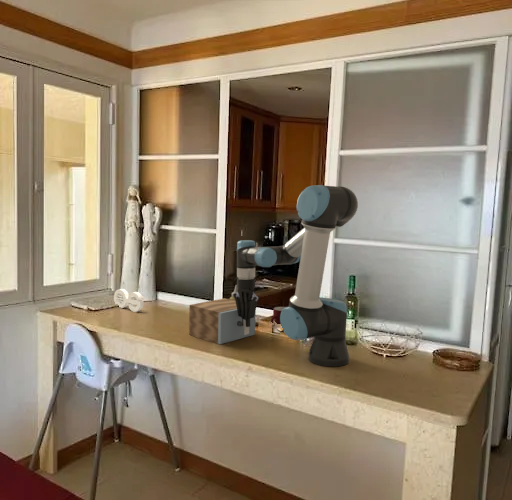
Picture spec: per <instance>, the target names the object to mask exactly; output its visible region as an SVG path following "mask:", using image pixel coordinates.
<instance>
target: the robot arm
mask: <svg viewBox="0 0 512 500" xmlns="http://www.w3.org/2000/svg"><path fill="white" fill-rule="evenodd" d="M296 202H297V203H296V211H297V215H298V217H299V218H300V219H301V225H302V227H303V228H302V229H301V230H299V231H298V232H297V233H296V234H295V235H294V236H293V237H291V238H290V239H289V240H287V242H285V243H284V244H283V245H279V246H276V245H275V246H256V241H255V240H250V239H248V240H247V239H245V240H243V239H241V240H238V241H237V242H236V244H237V245H236V247H237V248H236V279H237V280H236V285H237V287H238V292H237V293H234V294H233V296H234V298H235V301H236V306H237V311H238V316H239V317H241V318H242V326H243V335H247V334H249V327H250V319H251V318H254V315H255V311H256V309H257V307H258V301H259V300H260V296H259V295H258V296H257V294H256V291H255V288H256V279H255V277H256V266H258V267H261V268H271V267H272V266H279V265H280V266H283V265H293V264H296V263H299V264H298V265H299V266H298V267H299V268H298V273H297V279H296V284H295V293H294V295H292V296H291V297H290V298H289V303H288V306H285V307H286V308H284V310H282V312H281V315H280V322H281V326H282V328H283V331H282V332H284V334H285V336H287V337H288V338H289V339H291V340H294V341H298V340H302V341H303V340H305V339H309V338H313V339H312V340H313V341H311V342H312V343H311V344H310V345H311V346H310V348H309V351H308V353H307V354H308V357H307V358H308V361H309V362H311V363H313V364H314V365H319V366H323V367H331V368H332V367H342V366H346V365H348V364H349V363H350V354H349V349H348V347H347V343H346V342H347V341H346V334H347V333H346V332H347V316H348V308H347V304H346V302H345V301H343V300H341V299H340V300H339V299H335V298H329V297H320V296H321V290H322V285H323V284H322V283H323V279H324V272H325V268H326V260H327V255H328V250H329V249H328V248H329V242H330V238H331V233H332V232H333V231H334V230H336V228H337V227H338V228H342V227H344V225H346V224H347V223H348V222H349V221H350V220H352V218H353V217H354V216H355V215H356V214H357V211H358V207H359V203H358V198H357V196H356V194H355V193H354V192H353V190H351V189H349V188H348V187H345V186H333V185H322V184H317V185H310V186H307V187H305V188H304V189H303V190H302V191H301V192H300V194H299V196H298V198H297V200H296ZM255 316H256V315H255Z"/></svg>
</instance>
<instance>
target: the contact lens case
mask: <svg viewBox="0 0 512 500" xmlns="http://www.w3.org/2000/svg"><path fill="white" fill-rule="evenodd" d="M113 301H114V303H115V305H116V304H118V305H119V307H121V308H120V309H124V308H127V307H128V308H129V310H130V311H131V312H134V313H137V312H140V311H142V309H143V308H144V304H145V303H144V302H145V301H144V297H143V295H142V294H141V293H140V292H138V291H134V292H133V291H132V292H130V293H129V291H127V290H126V289H125V288H119V289H116V290H115V291H114V293H113Z"/></svg>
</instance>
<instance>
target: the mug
mask: <svg viewBox="0 0 512 500" xmlns="http://www.w3.org/2000/svg"><path fill="white" fill-rule="evenodd" d="M286 307H287V306H275V307H274V308H273V311H272V313H273V315H272V317H271V319H270V323H271V322H272V323H274V321H275V322H276V323H277V324H281V322H280V315H281V312H282V310H284V308H286Z"/></svg>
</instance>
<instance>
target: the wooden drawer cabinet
mask: <svg viewBox="0 0 512 500" xmlns="http://www.w3.org/2000/svg"><path fill="white" fill-rule="evenodd" d="M234 309H237V306H236V301H234V300H230V298H225V297H223V298H219V299H213V300H209V301H204V302H196V303H191V304H189V311H188V312H189V315H188V316H189V318H188V322H189V323H188V325H189V327H188V329H189V330H188V335H189V336H192V337H195V338H197V339H202V340H204V341H207V342H211V343H213V344H217V345H219V344H218V318H219V313H220V312H224V311H229V310H234Z"/></svg>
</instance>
